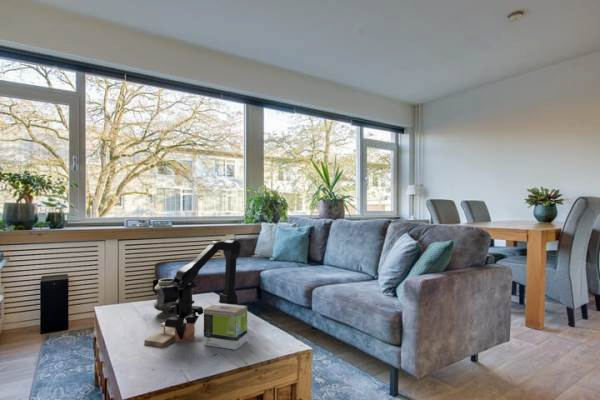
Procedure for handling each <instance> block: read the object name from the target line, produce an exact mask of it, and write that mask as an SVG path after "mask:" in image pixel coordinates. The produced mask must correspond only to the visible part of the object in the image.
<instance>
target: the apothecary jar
mask: <svg viewBox="0 0 600 400" xmlns="http://www.w3.org/2000/svg"><path fill="white" fill-rule="evenodd" d="M174 278H175V277H166V278H165V277H164V278H160V279H159V280H158V283H157V284H156V285H155V286H154V291H155V292H156V301H155V302H154V303H153V307H154V309H155V310H157V311H160V312H159V313H157V314H156V315H155V316H156V318H158V319H168V318H170V317H172V316H175V317H177V316H176V315H174V314H172V315H169V316H167V315H164V312H163V311H164V307H167V306H170V307H171V306H174V305H175V303H176V302H178V300H177V301H176V302H171V303H167V304H160V303H159V300H158V294H159V291H160V290H161V287H163V286H171V283H172V281H173V280H174Z"/></svg>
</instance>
